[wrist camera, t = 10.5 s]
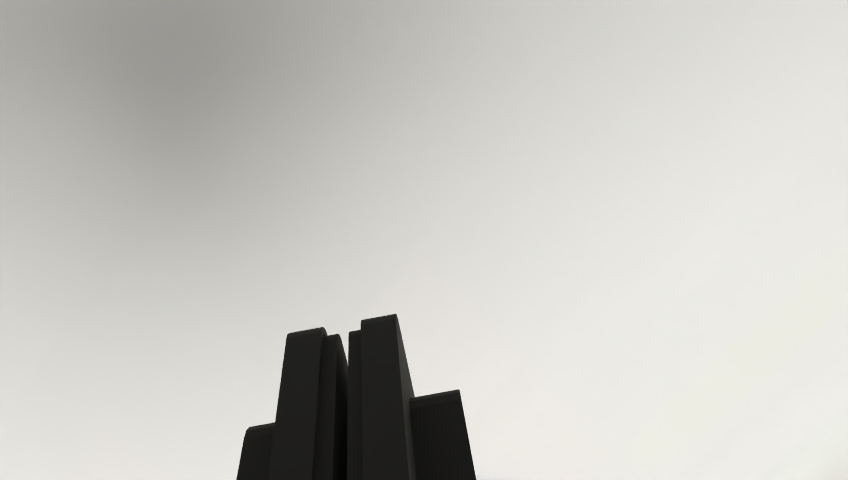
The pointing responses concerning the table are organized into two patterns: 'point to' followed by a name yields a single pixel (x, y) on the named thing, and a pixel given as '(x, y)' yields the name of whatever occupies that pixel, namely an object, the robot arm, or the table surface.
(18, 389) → the table surface
